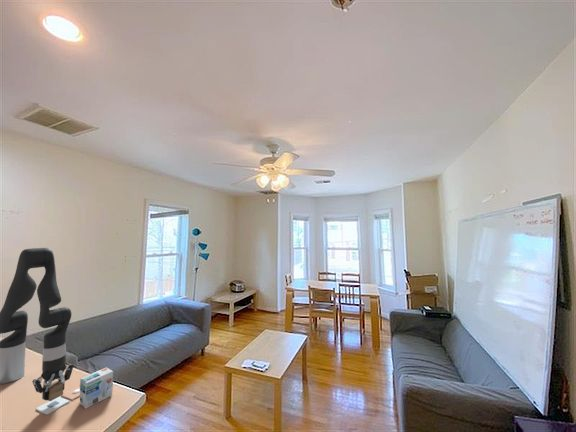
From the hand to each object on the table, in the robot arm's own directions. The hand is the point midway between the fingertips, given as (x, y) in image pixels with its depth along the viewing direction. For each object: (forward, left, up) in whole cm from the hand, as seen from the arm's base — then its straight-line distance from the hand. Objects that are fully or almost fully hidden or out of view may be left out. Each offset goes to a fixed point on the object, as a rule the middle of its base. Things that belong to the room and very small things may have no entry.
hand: (53, 395), depth 109 cm
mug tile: (0, +9, -4) cm, 10 cm away
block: (0, 0, 0) cm, 0 cm away
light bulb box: (+13, +10, -5) cm, 17 cm away
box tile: (0, 0, -4) cm, 4 cm away
